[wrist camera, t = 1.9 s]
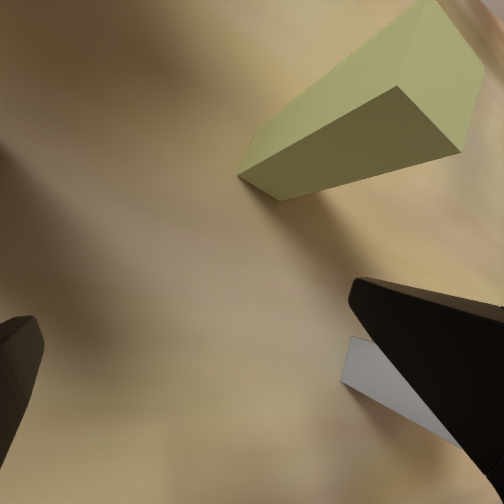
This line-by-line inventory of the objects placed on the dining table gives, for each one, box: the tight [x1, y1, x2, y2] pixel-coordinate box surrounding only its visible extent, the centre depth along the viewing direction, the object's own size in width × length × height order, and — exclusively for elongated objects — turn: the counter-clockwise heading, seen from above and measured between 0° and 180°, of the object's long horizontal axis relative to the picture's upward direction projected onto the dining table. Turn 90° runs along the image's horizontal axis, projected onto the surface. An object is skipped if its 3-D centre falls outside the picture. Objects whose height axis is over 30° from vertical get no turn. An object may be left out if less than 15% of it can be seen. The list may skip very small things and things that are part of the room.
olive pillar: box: [237, 0, 485, 202], centre depth 17 cm, size 4×4×13 cm
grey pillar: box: [341, 336, 463, 450], centre depth 21 cm, size 4×4×13 cm
